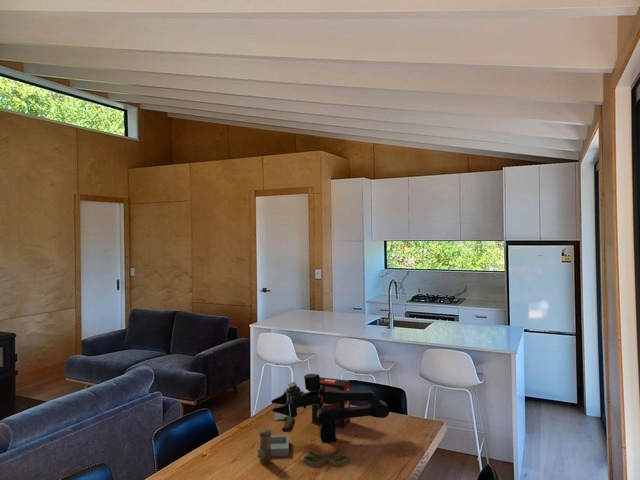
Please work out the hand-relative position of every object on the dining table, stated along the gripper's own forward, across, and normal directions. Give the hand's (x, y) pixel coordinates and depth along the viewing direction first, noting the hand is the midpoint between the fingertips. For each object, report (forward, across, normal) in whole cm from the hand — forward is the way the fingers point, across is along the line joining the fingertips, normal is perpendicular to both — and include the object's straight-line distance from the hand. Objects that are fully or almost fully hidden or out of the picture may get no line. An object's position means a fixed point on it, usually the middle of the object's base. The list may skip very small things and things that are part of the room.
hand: (272, 405), depth 196 cm
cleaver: (-5, -25, +19) cm, 32 cm away
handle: (+6, +18, +15) cm, 24 cm away
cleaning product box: (-27, -17, +21) cm, 38 cm away
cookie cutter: (-19, +20, +18) cm, 33 cm away
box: (+2, +7, +16) cm, 17 cm away
